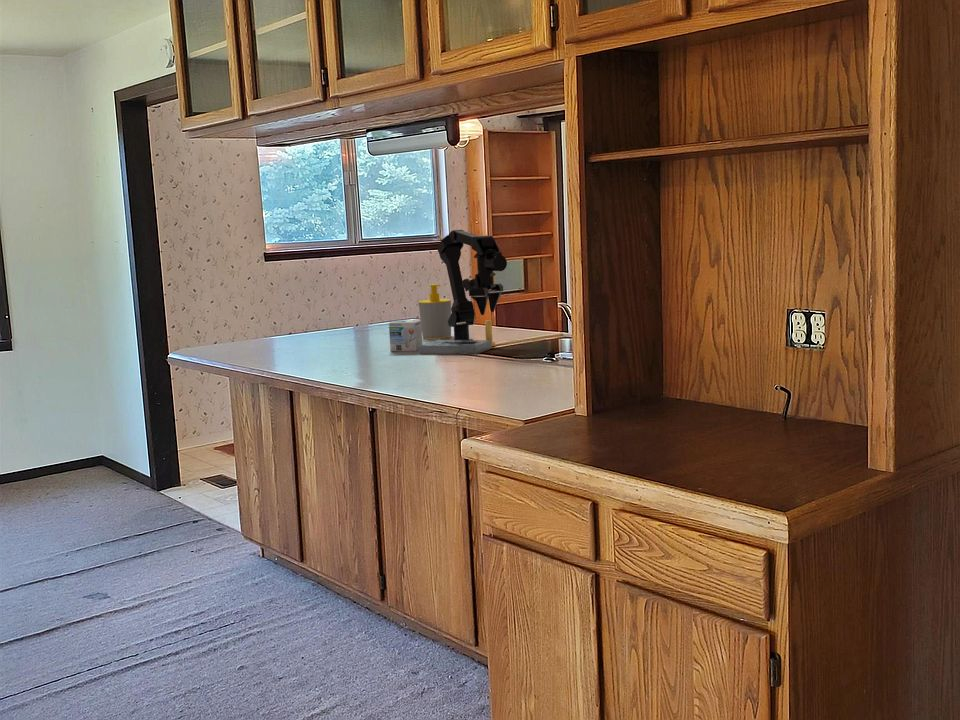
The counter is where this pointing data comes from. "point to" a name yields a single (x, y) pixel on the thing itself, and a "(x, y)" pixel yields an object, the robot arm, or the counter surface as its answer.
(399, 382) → the counter surface
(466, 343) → the keyhole plate
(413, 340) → the light bulb box
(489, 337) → the headed peg
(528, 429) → the counter surface
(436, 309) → the soap bottle
